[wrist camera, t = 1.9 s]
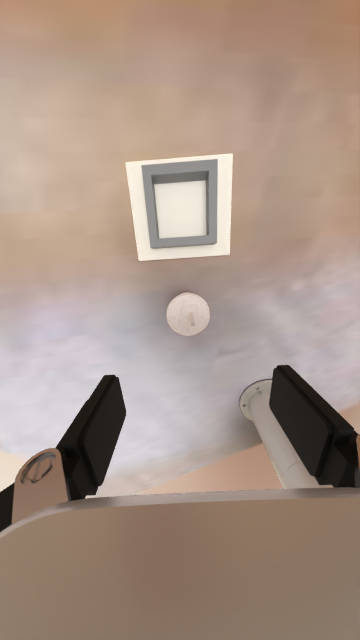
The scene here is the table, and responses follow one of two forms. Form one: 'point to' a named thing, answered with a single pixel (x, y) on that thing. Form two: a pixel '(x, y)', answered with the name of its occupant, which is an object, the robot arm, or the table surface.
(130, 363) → the table surface
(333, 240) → the table surface
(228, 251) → the socket board
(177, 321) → the smoothie
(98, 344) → the table surface
